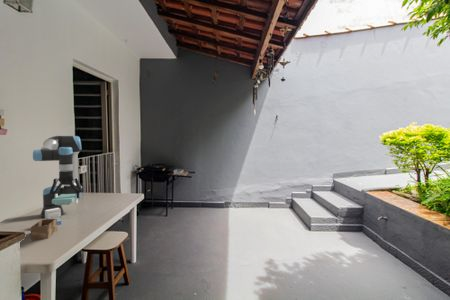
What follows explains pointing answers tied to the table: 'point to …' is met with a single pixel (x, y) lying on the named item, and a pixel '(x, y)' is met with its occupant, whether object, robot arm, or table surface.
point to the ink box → (53, 214)
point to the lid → (64, 199)
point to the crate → (43, 229)
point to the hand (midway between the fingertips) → (66, 203)
